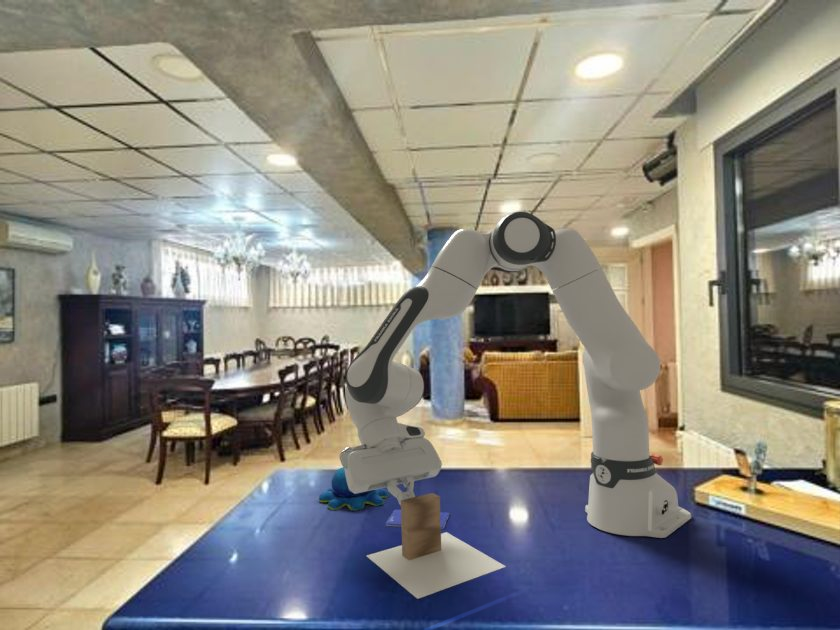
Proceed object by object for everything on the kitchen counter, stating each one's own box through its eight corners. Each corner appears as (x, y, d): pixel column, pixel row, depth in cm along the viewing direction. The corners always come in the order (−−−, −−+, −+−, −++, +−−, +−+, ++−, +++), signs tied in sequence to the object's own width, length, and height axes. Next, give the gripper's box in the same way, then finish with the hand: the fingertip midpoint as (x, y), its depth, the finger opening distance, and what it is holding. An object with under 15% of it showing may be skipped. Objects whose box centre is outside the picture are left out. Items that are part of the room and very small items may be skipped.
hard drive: (385, 522, 108) (443, 526, 106) (395, 508, 116) (449, 511, 114) (385, 530, 108) (443, 533, 106) (395, 515, 116) (449, 518, 114)
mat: (446, 534, 104) (446, 532, 104) (506, 568, 89) (506, 566, 89) (366, 557, 95) (366, 555, 95) (417, 601, 79) (417, 598, 79)
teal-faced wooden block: (433, 545, 98) (431, 492, 98) (441, 550, 96) (439, 496, 96) (401, 554, 94) (400, 500, 95) (409, 560, 92) (407, 504, 92)
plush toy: (309, 510, 120) (308, 475, 120) (332, 487, 137) (331, 456, 137) (379, 512, 118) (378, 476, 118) (393, 488, 135) (392, 456, 135)
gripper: (341, 440, 100) (364, 505, 92) (429, 426, 111) (457, 483, 103) (332, 458, 104) (354, 522, 95) (418, 443, 115) (444, 500, 106)
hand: (408, 502), depth 99 cm, fingers closed
